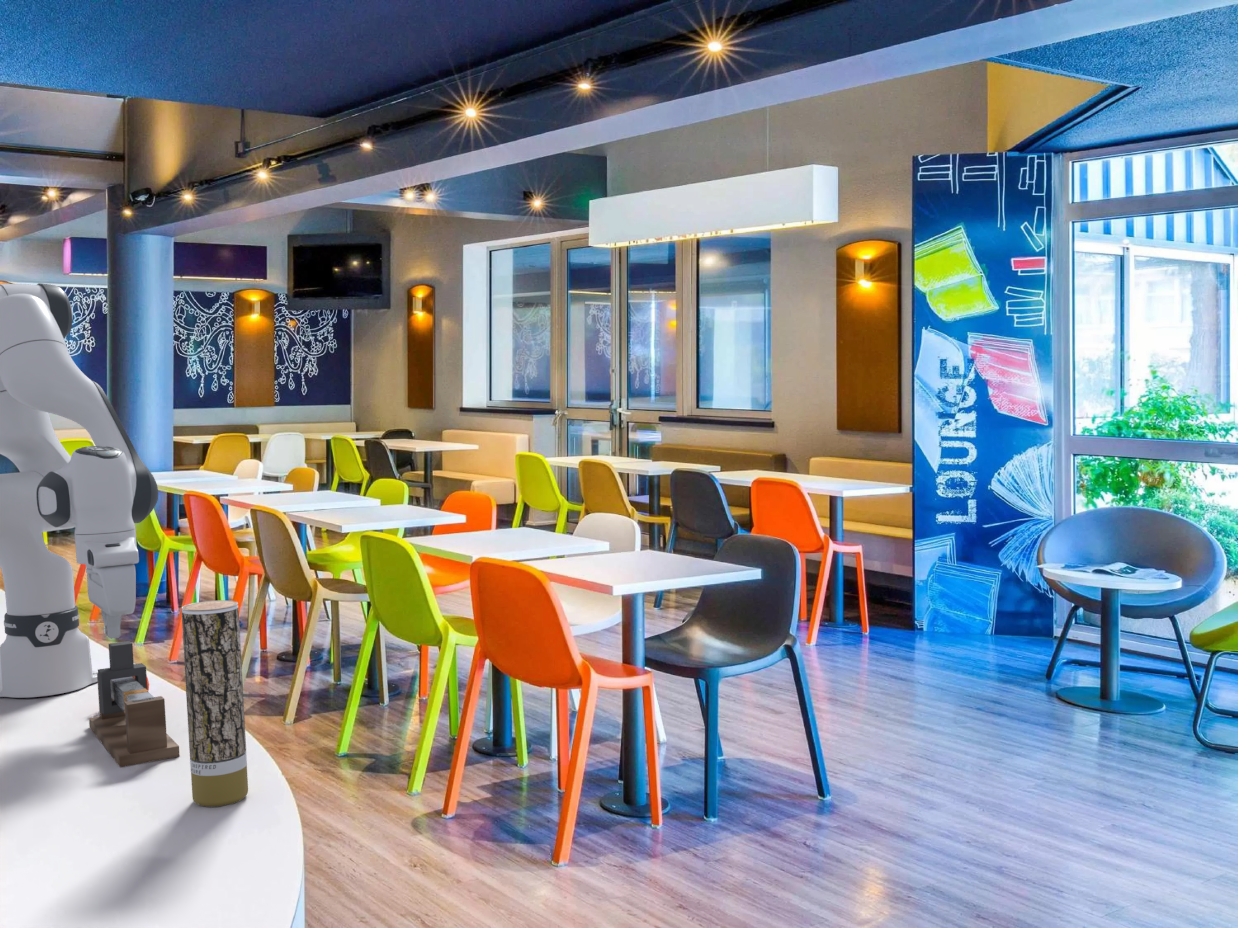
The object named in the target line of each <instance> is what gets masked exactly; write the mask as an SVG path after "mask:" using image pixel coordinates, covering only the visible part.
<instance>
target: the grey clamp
mask: <svg viewBox="0 0 1238 928" xmlns="http://www.w3.org/2000/svg"><path fill="white" fill-rule="evenodd" d="M133 649H134V647H133V642H131V641H130V640H126V641H120V642H119V641H118V642H112V643H111V642H110V643H108V655H109V657H108V658H109V667H106V668H99V669H98V668H97V672H98V681H99V696H98V698H99V697H100V711H101V712H102V713H103V715H107V714H113V713H119V712H124V711H123V710H122V709H121V708H120V707H119V706H118V704H117V703H116V702H115V701H112V699H111V683H110V680H112V679H119V678H125V677H132V676H135V680H136V681H137V682H138V683H139V684H140V685H142V686H143V687H144V688H145V689H147V678H148V676H147V666H146V665H145V664H144V663H134V650H133Z"/></svg>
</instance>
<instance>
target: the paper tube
mask: <svg viewBox="0 0 1238 928" xmlns="http://www.w3.org/2000/svg"><path fill="white" fill-rule="evenodd" d="M238 604H239V602H238V601H235V600H227V599H226V600H207V601H206V600H205V601H199V602H192V603H188V604H185V605H183V606H182V607H181V622H182V623H181V624H182V641H183V655H184V656H183V660H184V677H185V695H186V712H187V727H188V728H187V729H188V730H187V732H188V745H189V746H188V750H189V761H190V762H189V764H190V766H189V767H190V776H191V779H190V780H191V793H192V794H191V795H192V797H191V798H192V800H193V802H194V803H195V804H197V805H198V806H202V807H207V808H208V807H210V808H211V807H212V808H213V807H215V808H217V807H223V806H229V805H232V804H235V803H238V802H240V801H242V800H243V799H245V798H246V797H247V796H248V793H249V784H248V783H249V782H248V780H249V779H248V759H247V755H248V754H247V742H246V741H247V739H246V720H245V701H244V687H243V686H244V685H243V683H244V682H243V670H242V669H243V666H242V664H243V663H242V647H241V645H242V644H241V629H240V628H241V626H240V609H239V605H238Z"/></svg>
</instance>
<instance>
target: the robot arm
mask: <svg viewBox="0 0 1238 928" xmlns="http://www.w3.org/2000/svg"><path fill="white" fill-rule="evenodd" d="M73 317H74V315H73V307H72V305H71V301H70V299H69V297H68V295H67V293H66V292H65V291H64V290H63V289H62V288H61V287H60V286H57V285H54V284H50V283H49V284H48V283H41V282H40V283H39V282H38V283H37V284H26V283H23V284H22V283H0V455H1V456H3V457H6V458H7V459H8V460H10V461H11V462H12V463H13V464H14V466H15V467H16V468H17V469H18V471H19V472H10V473H8V472H7V473H0V569H1V574H2V580H3V587H4V596H5V608H6V612H5V614H4V617H3V618H4V619H3V626H4V634H5V635H6V637H5V639H4V641H3V642H2V643H1V644H0V698H3V697H4V698H17V699H18V698H19V699H20V698H22V699H23V698H37V697H48V696H54V695H60V694H64V693H70V692H73V691H76V690H77V691H78V690H81V689H83V688H85V687H87V686H89V685H91V684H96V683H98V680H97V673H98V671H95V670H93V664H92V655H91V647H90V646H91V645H90V637H89V636H87V635H86V634H85V633H83V632H82V631H81V630H80V629H79V626H80V613H79V607H78V606H77V605H76V600H75V599H76V598H75V597H76V596H75V582H74V581H75V580H74V570H73V567H72V565H71V563H70V561H68V559H67V558H65V557H64V556H61V555H59V554H57V553H55V552H52V551H50V550H49V548H48V547H47V546H46V543H45V540H44V536H43V533H46V532H51V531H53V532H54V531H60V530H68V529H74V544H75V545H74V546H75V560H76V563H77V564H79V565H85V573H86V580H87V581H86V584H87V596H88V600H89V602H90V603H92V604H93V605H94V606H96V607H97V608H98V609H99V610H100V611H101V616H102V621H103V625H104V633H105V636H107V638H109V639H118V638H120V637H121V623H122V616H125V615H132V614H133V613H134V612H135V610H136V609H135V607H136V602H137V601H136V600H137V598H136V594H137V589H136V588H137V585H136V584H137V583H136V582H137V581H136V580H137V579H136V575H137V573H136V566H135V564H138V563H139V562H140V557H139V556H140V555H139V550H138V547H137V545H138V544H137V533H136V532H137V531H136V524H140V523H141V522H143V521H145V519H147V518H148V516H149V515H150V514H151V513H152V512H153V510H154V509H155V507H156V505H157V503H158V502H159V501H158V500H159V488H158V483H157V481H156V479H155V477H154V475H153V474H152V472H151V471H150V470H149V468H148V467H147V465H146V464H145V462H144V461H143V460H142V458H141V457H140V456H139V454H138V452H137V451H136V448H135V446H134V445H133V443H132V441H131V439H130V437H129V435H128V433H127V431H126V429H125V427H124V425H123V424H122V422H121V420H120V418H119V416H118V414H117V412H116V410H115V409H114V406H113V405H112V403H111V401H110V399H109V398H108V397H109V396H107V393H106V392H105V391H104V389H103V388H102V387H101V385H100V384H99V383H97V382H95V381H94V380H92V379H91V378H89V377H88V376H87V375H86V374H85V373H84V372H83V371H81V369H80V368H79V367H78V365H76V363H75V361H74V360H73V358H72V357H71V355H70V353H69V350H68V347H67V344H66V342H65V338H66V337H67V336H68V335H69V333H70V332H71V331H72V327H73ZM50 414H53V415H57V416H59V417H62V418H65V419H67V420H71V421H72V422H74V423H76V424H79V426H81V427H82V428H84V429H85V430H86V432H87V433H88V434H89V436H90V438H91V440H92V442H93V443H94V445H90V446H82V447H80V448H77V449H75V450H73V452H72V453H71V455H70V453H69V452H68V451H67V450H66V449H65V447H64V445H63V444H62V443H61V441H60V440H59V438H58V436H57V434H56V431H55V429H54V427H53V422H52V420H51V417H50Z"/></svg>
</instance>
